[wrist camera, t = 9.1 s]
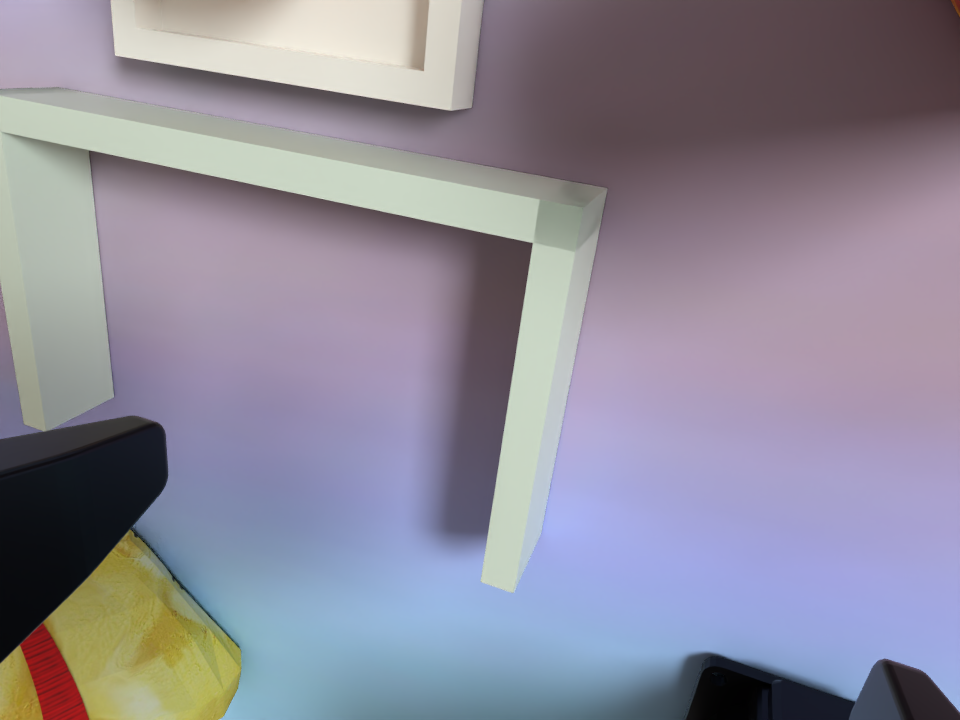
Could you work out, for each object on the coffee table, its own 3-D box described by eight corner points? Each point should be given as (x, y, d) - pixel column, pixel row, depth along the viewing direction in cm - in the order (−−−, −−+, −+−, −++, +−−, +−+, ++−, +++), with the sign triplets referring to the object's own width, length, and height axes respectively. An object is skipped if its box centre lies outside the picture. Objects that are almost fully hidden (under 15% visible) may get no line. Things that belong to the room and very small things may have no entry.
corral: (541, 533, 23) (513, 593, 20) (93, 390, 28) (24, 424, 25) (607, 188, 18) (583, 207, 16) (58, 87, 23) (-32, 89, 20)
